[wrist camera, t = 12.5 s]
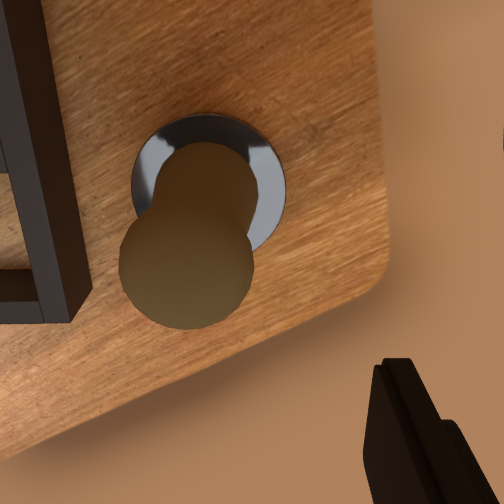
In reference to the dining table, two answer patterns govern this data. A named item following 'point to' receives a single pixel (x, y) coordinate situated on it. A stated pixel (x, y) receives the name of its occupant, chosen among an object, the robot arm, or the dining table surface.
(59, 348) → the dining table surface
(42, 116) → the holder
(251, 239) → the coaster
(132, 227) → the cork
